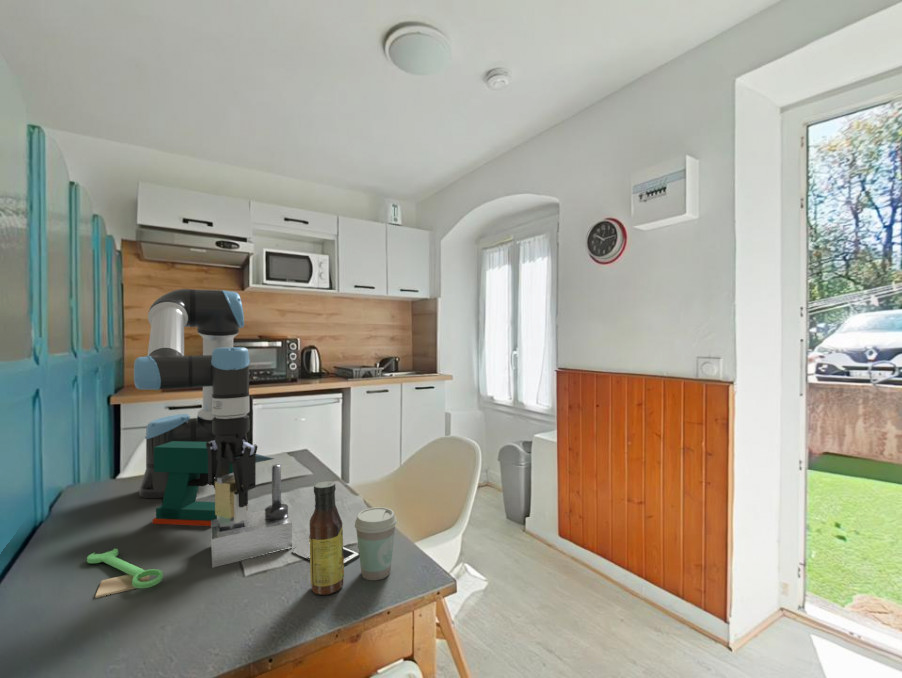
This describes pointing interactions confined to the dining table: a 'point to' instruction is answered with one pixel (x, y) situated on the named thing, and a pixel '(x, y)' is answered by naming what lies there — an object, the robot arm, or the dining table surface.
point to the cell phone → (348, 555)
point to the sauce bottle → (326, 542)
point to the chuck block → (254, 531)
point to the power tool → (185, 483)
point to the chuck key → (226, 502)
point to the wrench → (127, 568)
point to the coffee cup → (375, 541)
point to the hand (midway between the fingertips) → (231, 518)
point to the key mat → (117, 585)
